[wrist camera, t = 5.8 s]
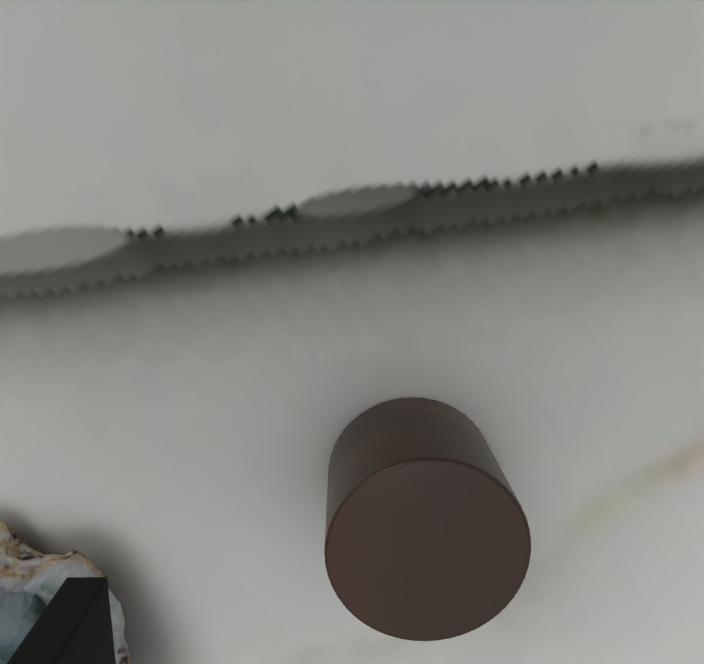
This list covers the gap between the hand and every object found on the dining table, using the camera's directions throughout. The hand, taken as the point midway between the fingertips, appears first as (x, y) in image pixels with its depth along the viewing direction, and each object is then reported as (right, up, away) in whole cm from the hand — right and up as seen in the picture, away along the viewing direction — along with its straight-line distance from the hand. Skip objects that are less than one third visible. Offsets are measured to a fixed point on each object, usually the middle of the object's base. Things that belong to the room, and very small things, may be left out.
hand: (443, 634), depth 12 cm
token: (0, +2, +6) cm, 6 cm away
